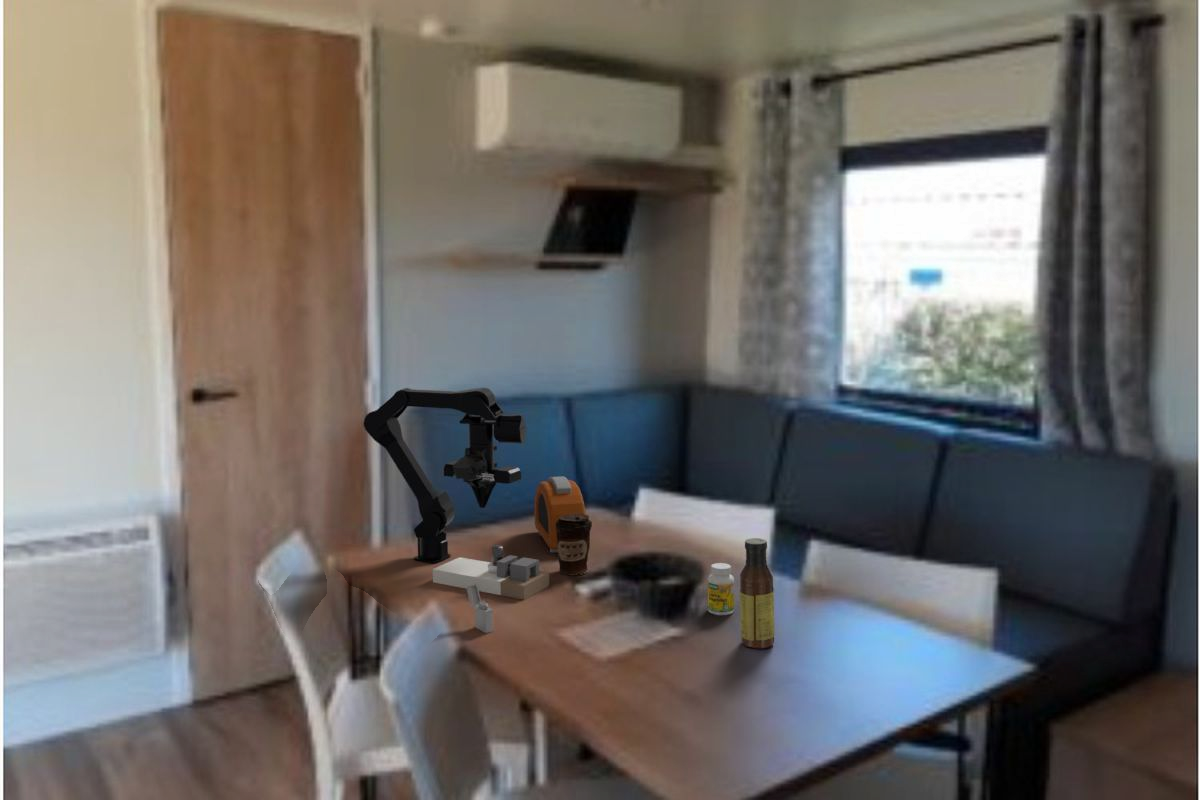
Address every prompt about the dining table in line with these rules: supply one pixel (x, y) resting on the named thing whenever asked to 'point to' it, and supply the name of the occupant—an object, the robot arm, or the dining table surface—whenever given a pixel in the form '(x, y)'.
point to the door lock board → (494, 576)
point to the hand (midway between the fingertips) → (482, 507)
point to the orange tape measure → (555, 506)
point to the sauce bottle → (756, 597)
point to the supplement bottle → (721, 590)
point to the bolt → (496, 556)
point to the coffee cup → (573, 543)
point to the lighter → (480, 610)
